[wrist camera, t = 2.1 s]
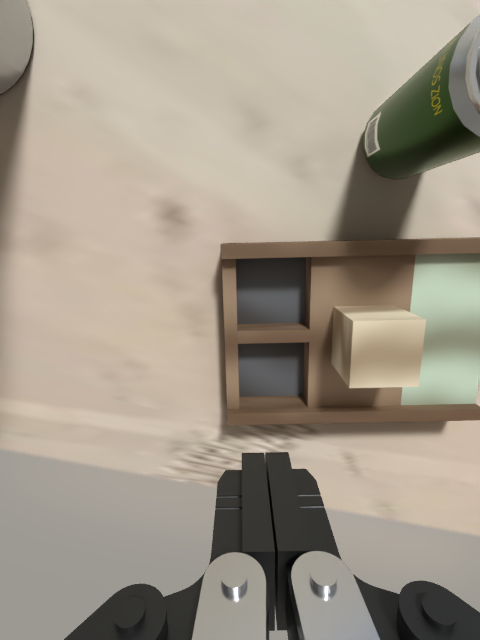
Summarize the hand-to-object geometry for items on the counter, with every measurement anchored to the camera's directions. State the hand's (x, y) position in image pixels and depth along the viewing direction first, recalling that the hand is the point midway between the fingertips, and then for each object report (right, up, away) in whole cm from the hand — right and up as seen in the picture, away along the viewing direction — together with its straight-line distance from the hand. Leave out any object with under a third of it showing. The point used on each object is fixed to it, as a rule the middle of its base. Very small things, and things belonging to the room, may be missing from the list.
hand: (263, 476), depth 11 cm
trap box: (+8, +4, +17) cm, 20 cm away
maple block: (+9, +4, +15) cm, 18 cm away
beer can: (+11, +18, +14) cm, 26 cm away
